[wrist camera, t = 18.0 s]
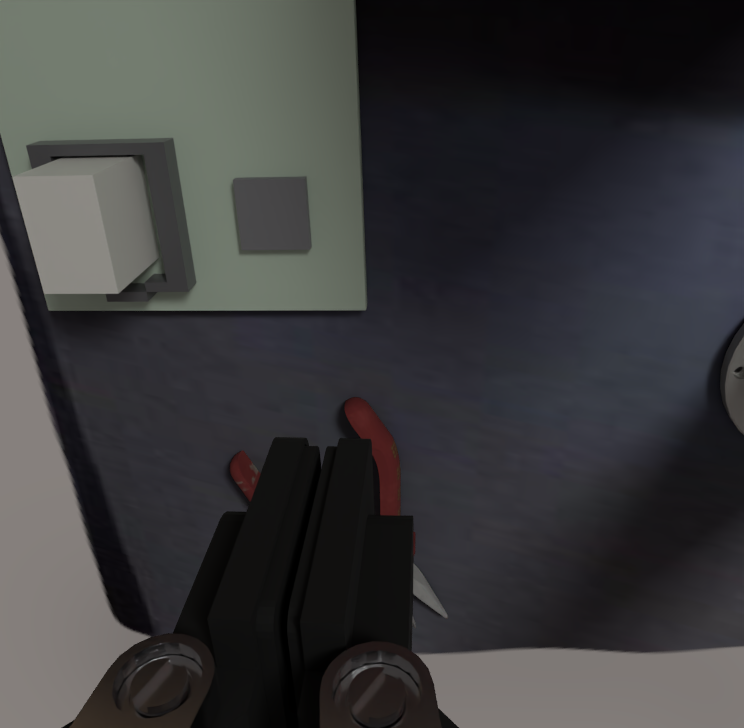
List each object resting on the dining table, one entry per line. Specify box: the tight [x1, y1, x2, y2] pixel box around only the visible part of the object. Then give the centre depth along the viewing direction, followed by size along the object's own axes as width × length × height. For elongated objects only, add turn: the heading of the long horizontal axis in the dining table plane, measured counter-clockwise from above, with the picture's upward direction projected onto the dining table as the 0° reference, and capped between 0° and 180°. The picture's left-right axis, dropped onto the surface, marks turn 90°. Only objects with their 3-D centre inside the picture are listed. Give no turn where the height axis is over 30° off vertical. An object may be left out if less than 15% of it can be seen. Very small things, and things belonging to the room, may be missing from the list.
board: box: [0, 0, 367, 311], centre depth 36 cm, size 20×22×2 cm
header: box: [26, 138, 196, 302], centre depth 38 cm, size 8×9×2 cm
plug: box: [12, 155, 160, 294], centre depth 36 cm, size 4×7×6 cm, turn 2°
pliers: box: [230, 397, 448, 628], centre depth 49 cm, size 12×20×3 cm, turn 30°
